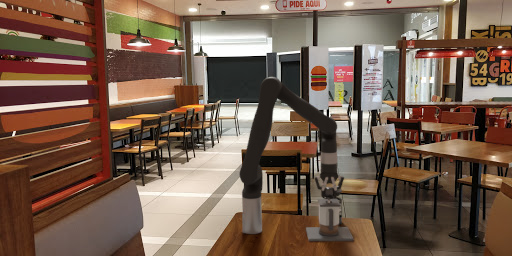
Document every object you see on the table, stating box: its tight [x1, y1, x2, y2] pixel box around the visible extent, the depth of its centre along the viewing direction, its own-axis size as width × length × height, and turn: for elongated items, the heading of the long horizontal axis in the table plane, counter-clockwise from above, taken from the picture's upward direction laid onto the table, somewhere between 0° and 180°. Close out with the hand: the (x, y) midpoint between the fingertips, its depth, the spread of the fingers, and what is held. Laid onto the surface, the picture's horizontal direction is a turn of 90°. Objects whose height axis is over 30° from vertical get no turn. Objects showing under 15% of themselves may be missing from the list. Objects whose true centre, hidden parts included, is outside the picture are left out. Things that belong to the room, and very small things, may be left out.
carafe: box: [317, 198, 341, 237], centre depth 186 cm, size 9×12×15 cm
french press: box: [323, 188, 343, 226], centre depth 204 cm, size 12×9×23 cm
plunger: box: [324, 186, 334, 203], centre depth 187 cm, size 4×4×15 cm
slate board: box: [305, 226, 354, 242], centre depth 189 cm, size 20×14×1 cm
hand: (328, 197), depth 187 cm, fingers closed on plunger, 4 cm apart
